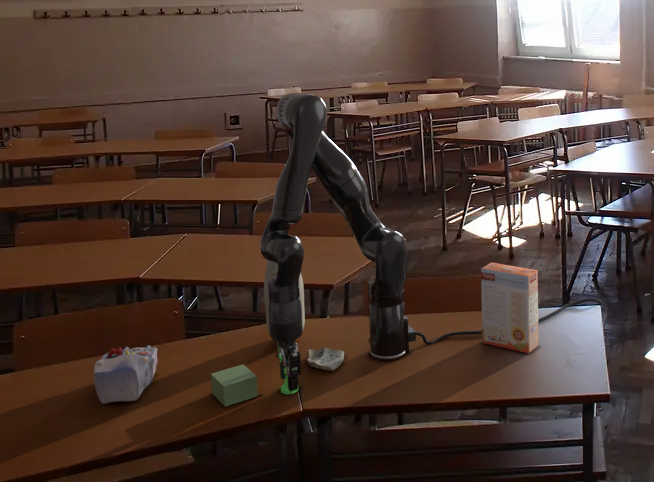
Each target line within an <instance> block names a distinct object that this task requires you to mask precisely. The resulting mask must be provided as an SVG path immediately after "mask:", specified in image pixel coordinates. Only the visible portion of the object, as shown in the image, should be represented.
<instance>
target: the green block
mask: <svg viewBox="0 0 654 482" xmlns="http://www.w3.org/2000/svg"><path fill="white" fill-rule="evenodd" d="M210 380H211V381H210V382H211V394H212V395H213V396H214V397H215V398H216V399H217V400H218V401H219V403H221V404H222V405H223V406H224V408H226V407H229V406H231V405H235V404H238V403H241V402H244V401H247V400H250V399H254V398H256V397H258V396H259V392H258V390H259V389H258V376H257V375H256V374H255V373H254V372H252V371H251V370H250V369H249V368H248V367H247V366H246V365H245V364H239V365H236V366H235V365H234V366H232V367H228V368H226V369H222V370H220V371H216V372H212V373H210Z"/></svg>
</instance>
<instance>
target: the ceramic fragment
mask: <svg viewBox="0 0 654 482" xmlns="http://www.w3.org/2000/svg"><path fill="white" fill-rule="evenodd" d="M306 351H307V352H306V355H307V360H306V362H307V364H308V366H310V367H312V368H316V369H321V370H325V371H328V372H333V371H335V370H336V369H338V368H339V367H340V366H341V365H342V364H343V361H344V358H345V352H344V351H343V350H339V349H331V348H328V347H321V348H320V349H315V350H313V349H308V350H306Z"/></svg>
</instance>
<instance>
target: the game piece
mask: <svg viewBox="0 0 654 482" xmlns="http://www.w3.org/2000/svg"><path fill="white" fill-rule="evenodd" d="M292 370H294V368H292ZM284 373H285V375H286V378H285V379H284V382H283V384H282V385H281V386H280V393H281V394H283V395H293V394H295V393H297V392H299V388H298V389H297V390H293V391H289V389H288V379H287V371H286V368H285V369H284Z"/></svg>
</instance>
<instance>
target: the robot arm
mask: <svg viewBox="0 0 654 482" xmlns="http://www.w3.org/2000/svg"><path fill="white" fill-rule="evenodd" d="M327 116H328V109H327V105H326V103H325V101H324V100H323V99H322V98H321V97H320V96H318V95H316V94H312V93H304V92H290V93H287V94H284V95H283V96H281V97H280V99H279V100H278V102H277V105H276V117H277V120H278V123H279V125H280V126H281V127H282V129H283V130H284V131H285V132H286V134H287V135H288V136H289V137H290V139H291V140H292V144H291V149H290V153H289V156H288V158H287V161H286V162H285V165H284V166H283V169H282V170H281V172H280V175H279V177H278V179H277V182H276V186H275V188H274V194H273V202H272V209H271V214H270V216H269V217H268V220H267V222H266V224H265V228H264V229H263V232H262V234H261V238H260V242H259V249H260V253H261V256H262V257H263V258H264V259H265V260H266V261H267V260H269V261H272V262H274V263H277V264H278V272H275V273H273V274H272V275H271V276H270V277H269V281H268V289H269V325H270V334H269V337H270V338H271V339H272V341H274V343H275V354H276V355H275V357H276V359H278V360H277V362H278V364H279V373H280V374H279V375H280V379H281V380H284V381H285V378H286V375H285V373H284V369H285V368H286V371H287V379H288V389H289V391H293V390H297V389H298V390H299V380H298V379H299V377H298V376H301V375H302V374H301V373H302V371H301V370H302V369H301V352H300V350H299V348H298V343H297V342H296V340H297V339H299V338H301V337H302V335H303V332H304V328H303V327H302V308H301V301H300V291H299V277H300V273H301V274H302V269H303V268H302V267H303V263H304V258H305V257H304V256H305V249H304V245H303V242H302V241H301V239H300V238H299V237H297V236H296V235H292V234H289V231H290V228H291V226H292V225H295V224H299V223H300V222H301V221H302V218H303V215H304V209H305V208H304V207H305V201H306V195H307V189H308V185H309V184H308V183H309V178H310V175H311V171H313V172H314V174H315V176H316V177H317V179H318V181H319V183H320V184H321V186H322V188H323V189H324V191H325V192H326V194H327V195H328V197H329V199H330V200H331V201H332V203H333V204H334V205H335V207H336V209H337V210H338V212H339V213H340V215H341V216H342V218H343V219H344V221H345V222H346V223H347V224H348V226H349V228H350V230H351V232H352V235H353V236H354V238H355V241H356V243H357V245H358V247H359V249H360V251H361V253H362V254H363V256H364V257H365V258H366V259H368V260H369V261H371V262H373V263H374V264H375V274H374V275H372V276H371V277H370V278H369V279H368V280H367V296H368V297H367V298H368V299H367V301H368V322H369V323H368V324H369V338H368V344H369V345H370V346H369V347H370V348H369V353H370V354H369V355H370V357H371V358H373V359H375V360H377V361H388V362H389V361H395V360H399V359H401V358H403V357H404V356H406V355H408V354H410V343H412V342H416V341H417V336H419V337H421V338H422V341H423V343H424V344H425V345H433V344H435V343H437V342H440V341H443V340H444V339H446V338H450V337H453V336H462V335H465V336H466V335H482V330H463V331H462V330H461V331H452V332H448V333H445V334H443V335H441V336H439V337H438V338H436V339H434V340H427V338H426V337H427V336H426V335H425V334H424V333H422V332H419V331H415V330H414V328H412V327H411V326H410V325H409V319H408V318H409V317H407V316H406V306H405V305H406V303H405V302H406V301H405V282H406V280H407V275H408V245H407V240H406V238H405V236H403V234H402V233H400V232H398V231H396V230H394V229H391V228H388V227H386V226H385V225H384V224H383V223H382V222H381V220H379V218H378V217H377V215H376V214H375V212H374V211H373V209H372V206H371V204H370V199H369V192H368V188H367V187H368V186H367V183H366V182H365V179H364V178H363V176H362V174H361V172H360V171H359V170H358V167H357V166H356V165H355V163H354V162H353V160H352V159H350V157H349V156H348V155H347V154H346V153H345V152H344V151H343V150H342V149H341V148H339V147H338V146H337V144H335V143H334V142H333V141H332V140H331V139H330V138H329V137H328V136H327V135H326V133H325V132H324V129H325V126H326V122H327ZM587 302H593V303H596V304H599V305H604V303H603V302H602V301H601V300H599V299H597V298H594V297H593V298H592V297H588V298H583V299H580V300H576V301H573V302H569V303H567V304H564V305H562V306H560V307H559V308H558V309H556V310H554V311H552V312H551V313H548V314H547V315H544V316H542V317H540V318H538V324H539V323H541V322H543V321H545V320H548V319H549V318H551V317H553V316H555V315H557V314H559V313H561V312H562V311H564V310H565V309H567V308H570V307H574V306H577V305H579V304H583V303H587ZM292 368H293V370H292ZM608 425H609V424H608V423H607V424H606V425H605V426H604V430H609V429H608V428H609V427H608Z"/></svg>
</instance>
